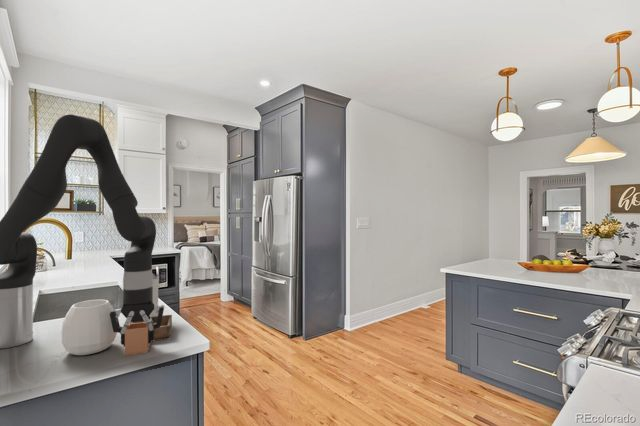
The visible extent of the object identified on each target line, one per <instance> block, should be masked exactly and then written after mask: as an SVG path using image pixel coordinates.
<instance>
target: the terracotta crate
mask: <svg viewBox="0 0 640 426" xmlns="http://www.w3.org/2000/svg"><path fill="white" fill-rule="evenodd" d="M148 331H149V329H148V326H147V325H146V324H145V322H141V323H131V324H129V326H128V328H126V329H125V347H124V356H130V355H139V354H145V353H148V352H149V349H150V346H151V343H150V344H148Z"/></svg>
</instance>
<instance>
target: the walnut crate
mask: <svg viewBox="0 0 640 426" xmlns="http://www.w3.org/2000/svg"><path fill="white" fill-rule="evenodd" d="M157 318H158V316H154V317H151V319H152V321H153V323H156V322H157ZM172 319H173V315H172V314H166V315H164V314H163V316H162V321H161V325H160V327H159V328H156V329H154V339H153V340H155V341H160V340H161V339H163V340H168V339H169V338H171V334H170V333H172V327H173V323H172V322H173V320H172ZM141 322H144V321H136V322H130V324H131V323H141Z"/></svg>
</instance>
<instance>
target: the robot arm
mask: <svg viewBox="0 0 640 426" xmlns="http://www.w3.org/2000/svg"><path fill="white" fill-rule="evenodd" d="M77 150H85V151H87V152H88V153H89V155H90V156H91V158H92V159H93V160H94V162H95V166H96V168H97V181H98V183H97V184H98V188H99V191H100V193H101V194H102V197H103V198H104V200H105V202H106V203H107V205H108V207H109V208H110V210H111V213H112V217H113V221H114V224H115V226H116V227H115V228H116V230H117V232H118V234H119V235H120V236H121V237H122V238H123V239H124V240H126V241H128V242H131V243H130V248H129V249H128V250H126V252H125V253H124V257H123V258H124V259H123V278H122V306H121V308H119V309H115V308H114V310H112V311H111V312H110V318H111V323H112V328H113V332H115V333H116V332H117V334H118V333H119V334H120V345H121V346H123V348H125V329H126V328H128V326H129V324H130V322H136V321H144V322H145V324H146V325H147V326H148V329H149V331H148V344H150V345H151V343H152V342H154V341H153V339H154V329H156V328H159V327H160V325H161V321H162V316H164V311H165V305H162V304H161V305H158V306H154V304H153V275H152V273H153V269H152V268H153V261H152V260H153V257H152V255H153V250H154V247H155V246H154V245H155V242H156V236H157V226H156V224H155V221H154V220H153V219H152V218H151V217H148V216H145V215H144V216H143V215H141V216H140V215H139V213H138V211H137V209H136V207H138V204H139V202H138V200H137V197H136V195H135V194H134V192H133V191H132V188H131V187H130V186H129V183H128V182H127V180H126V178H125V177H124V175H123V173H122V171H121V168H120V166H119V163H118V161H117V158H116V155H115V153H114V150H113V147H112V144H111V141H110V139H109V137H108V134H107V131H106V129H105V127H104V125H102V123H100V122H99V121H98V120H96V119H93V118H90V117H86V116H83V115H78V114H74V113H66V114H63V115H61V116H60V117H59V118H58V119H57V120H56V121H55V123H54V124H53V127H52V128H51V131H50V134H49V135H48V138H47V140H46V143H45V145H44V148H43V150H42V152H41V153H40V156H39V157H38V159H37V161H36V163H35V165H34V167H33V169H32V170H31V172H30V174H29V175H28V177H27V178H26V179H25V181H24V182H23V184H22V186H21V188H20V190H19V191H18V193H17V195H16V197H15V199H14V200H13V202H12V203H11V205H10V206H9V208H8V210H7V211H6V213H5V214H4V216H3V217H2V218H1V219H0V266H3V265H9V267H8V268H7V269H5V271H4V272H2V273H0V349H8V348H13V347H14V348H15V347H17V346H21V345H24V344H26V343H29V342H31V341H32V340H33V338H34V334H33V333H34V330H33V327H34V321H33V320H34V312H33V311H34V278H35V276H36V273H37V272H36V271H37V256H38V244H37V240H36V238H35V237H34V236H33V234H31V233H29V232H25V231H26V230H27V229H28V228H29V227H30V226H32V225H33V224H35V223H37V222H38V221H40V220H42V219H43V218H44V217H45V216H47V215H49V214H50V213H51V212H52V211H54V210H55V208H57V206H58V204H59V203H60V202H61V200H62V198H63V197H64V195H65V193H66V191H67V187H68V180H67V179H68V177H67V171H66V170H67V165H68V163H69V161H70V159H71V157H72V156H73V154H74V153H75V152H76V151H77ZM153 310H155V311H156V314H158V318H157V322H156V323H153V321H152V319H151V317H150V314H151V313H152V311H153ZM121 314H122V315H123V317H124V318H126V319H125V321H124V323H123V326H120V321H119V317H120V316H121Z"/></svg>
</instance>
